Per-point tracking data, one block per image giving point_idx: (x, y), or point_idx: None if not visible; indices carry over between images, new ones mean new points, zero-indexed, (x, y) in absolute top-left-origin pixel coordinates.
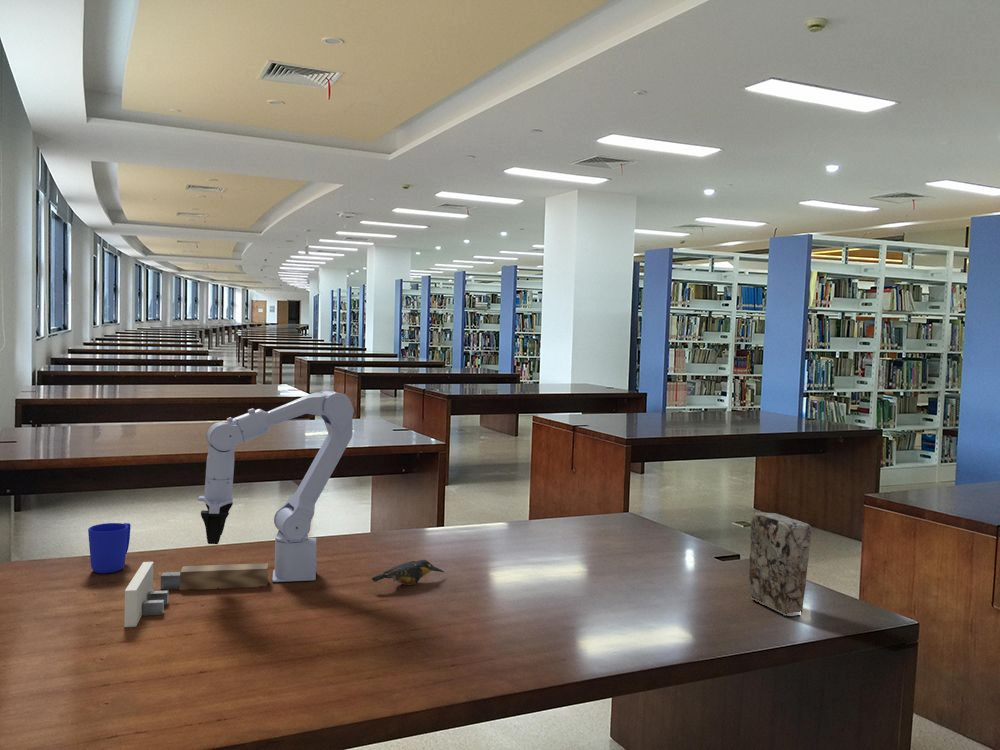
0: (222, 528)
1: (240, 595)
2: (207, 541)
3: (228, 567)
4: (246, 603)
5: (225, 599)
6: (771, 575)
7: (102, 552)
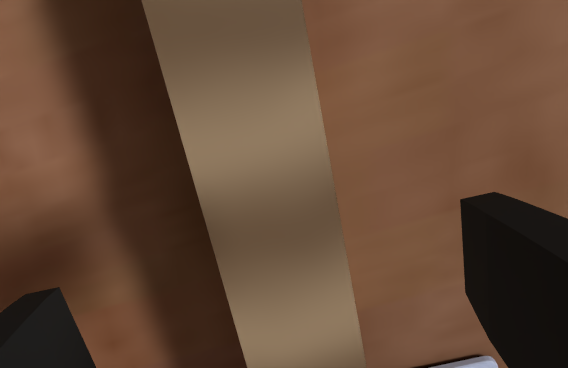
0: (508, 352)
1: (115, 305)
2: (8, 307)
3: (276, 253)
4: None
5: (39, 256)
6: None
7: None
